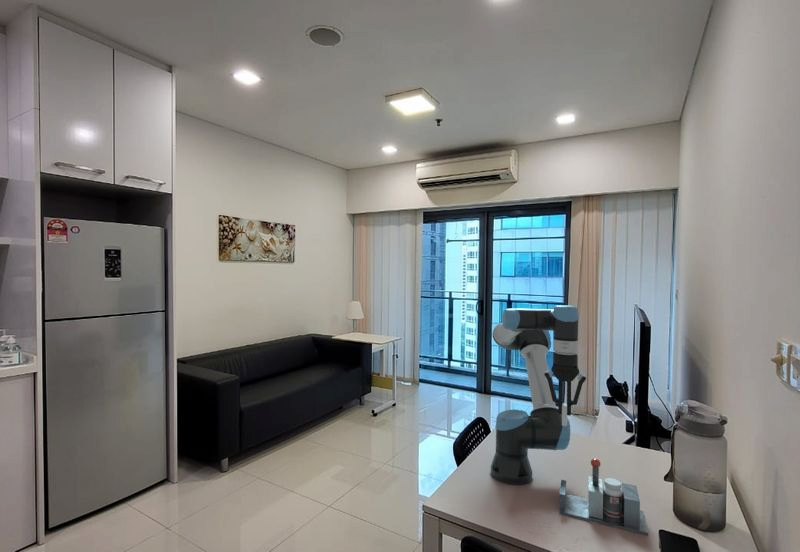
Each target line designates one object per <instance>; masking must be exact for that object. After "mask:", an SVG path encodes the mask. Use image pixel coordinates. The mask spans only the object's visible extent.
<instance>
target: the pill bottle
mask: <svg viewBox="0 0 800 552" xmlns="http://www.w3.org/2000/svg"><path fill="white" fill-rule="evenodd" d="M603 482H604V483H603V484H604V486H603V512H604V513H605V514H606V515H607V516H610V517H613V518H620V517H622V516H623V492H622V482H621V481H619V480H618V479H616V478H613V477H607V478H604V480H603Z"/></svg>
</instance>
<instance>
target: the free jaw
mask: <svg viewBox="0 0 800 552" xmlns="http://www.w3.org/2000/svg"><path fill="white" fill-rule="evenodd" d="M590 465H591V466H592V475H591V476H588V485H587V486H588V487H587V489H588V493H587V494H588V495H587V496H588V497H587V499H588V516H591V517H595V518H599V519H603V487H604V486H603V479H602V478H600V477H599V476H600V467H601V461H600V460H599V459H598V458H592V459H591V460H590Z"/></svg>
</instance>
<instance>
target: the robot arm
mask: <svg viewBox="0 0 800 552" xmlns="http://www.w3.org/2000/svg"><path fill="white" fill-rule="evenodd" d="M501 317H502V319H501V320H502V321H501V323H500V322H499V323H498V324H496V325H495V327H494V328H493V329H492V339H493V340H494V342H495V344H497V346H499V347H501V348H502V349H505V350H510V351H519V352H520V355H521V357H523V358H524V360H525V365H526V373H527V379H528V385H529V391H530V398H531V403H532V404H531V405H532V409H531V411H530V413H529V414H528V412H527V411H525V410H522V409H508V410H507V409H506V410H503V411H501V412H499V413H497V415H496V420H495V453H494V456H493V458H492V462H491V464H490V474H491V476H492V477H493V478H494V479H496V480H497V481H499V482H502V483H504V484H505V483H506V484H509V485H525V484H528V483H530V482H531V481H532V480H533V469H532V466H531V462H530V459H529V457H528V456H529V455H528V452H529V451H528V450H529V449H531V450H548V451H550V450H551V451H564V450H566V449H567V448H568V447H569V445H570V442H571V441H570V440H571V423H570V420H569V418H568V416H571V415H572V406H575V405H577V404H578V400H579V399H580V395H581V391H582V387H583V383H585V381H587V375H586V374H582V373H581V372H580V370H579V363H578V362H579V361H578V360H579V356H578V354H577V353H579V319H580V316H579V309H578V307H577V306H575V305H567V304H566V305H564V304H559V305H555V306H553V307H552V308H515V307H513V308H504V309H503V311H502V316H501ZM550 331H551V332H552V331H553V333H552V334H553V336H552V337H553V340H551V339H552V337H551V334H550ZM552 343H553V344H552ZM551 347H552V350H553V353H552V366H551V369H550V370H549V365H548V360H547V357H546V356H547V355H548V353H549V351H550V350H551ZM553 375H554V376H555V379H557V380H558V392H557V393H558V394H557V393H556V389H555V384H554V381H553ZM576 378H577V379H578V383H577V386H576V389H575V392H574V397H573V399H572V382H573V381H574V380H575V379H576ZM564 382H566V403H564V402H563V401H564V399H563V397H564V396H563V395H564ZM557 395H558V396H557ZM556 404H557V405H558V407H557V405H556Z"/></svg>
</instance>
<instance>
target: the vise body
mask: <svg viewBox="0 0 800 552" xmlns="http://www.w3.org/2000/svg"><path fill="white" fill-rule="evenodd" d="M560 480H561V481H560V489H559V509H558V510H559V511H558V512H559V515H562V516H566V517H570V518H575V519H579V520H583V521H587V522H590V523H591V522H592V523H596V524H600V525H604V526H606V527H607V526H608V527H612V528H616V529H620V530H625V531H628V532H633V533H636V534H641V535H644V536H649V531H648V527H647V523H646V518H645V514H644V511H643V510H641V501H640V496H639V492H638V488H637V485H634V484H629V483H624V482H621V490H622V492H623V516H622V517H620V518H613V517H610V516H607V515H606V514H605V513H604V512H603V519H599V518H595V517H591V516H588V497H587V498H586V497H582V496H577V495H573V494H568V493H567V480H565V479H560Z"/></svg>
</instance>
